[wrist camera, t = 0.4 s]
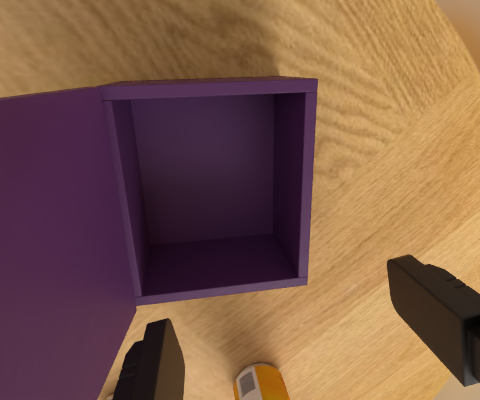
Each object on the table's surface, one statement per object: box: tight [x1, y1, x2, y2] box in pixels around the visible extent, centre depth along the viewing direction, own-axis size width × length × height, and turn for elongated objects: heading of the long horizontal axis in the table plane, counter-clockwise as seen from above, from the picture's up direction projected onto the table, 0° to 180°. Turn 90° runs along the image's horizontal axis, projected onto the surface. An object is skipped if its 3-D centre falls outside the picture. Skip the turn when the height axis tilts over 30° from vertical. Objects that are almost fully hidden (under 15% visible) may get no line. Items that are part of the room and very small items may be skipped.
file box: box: [96, 76, 318, 306], centre depth 28 cm, size 14×16×9 cm
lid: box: [0, 87, 137, 400], centre depth 16 cm, size 14×16×1 cm
